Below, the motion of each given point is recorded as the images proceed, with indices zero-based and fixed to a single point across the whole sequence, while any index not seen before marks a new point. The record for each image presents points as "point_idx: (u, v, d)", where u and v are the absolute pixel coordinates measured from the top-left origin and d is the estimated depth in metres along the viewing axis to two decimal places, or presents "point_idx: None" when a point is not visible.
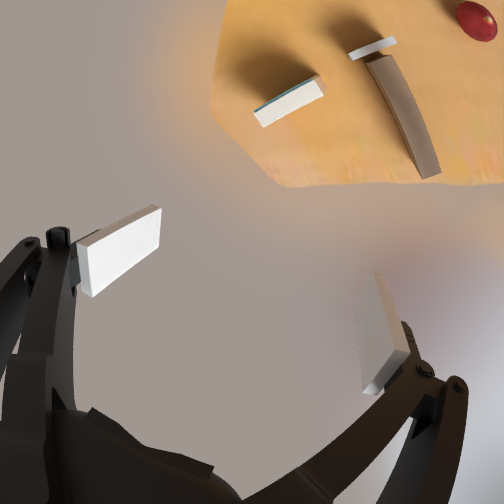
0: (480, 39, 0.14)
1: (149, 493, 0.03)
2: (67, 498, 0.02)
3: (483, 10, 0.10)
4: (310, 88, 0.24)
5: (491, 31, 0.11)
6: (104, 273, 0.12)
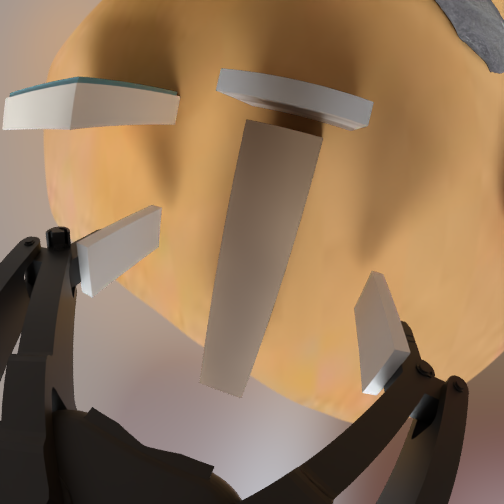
0: None
1: (149, 493, 0.03)
2: (67, 498, 0.02)
3: None
4: (63, 99, 0.08)
5: None
6: (104, 273, 0.12)
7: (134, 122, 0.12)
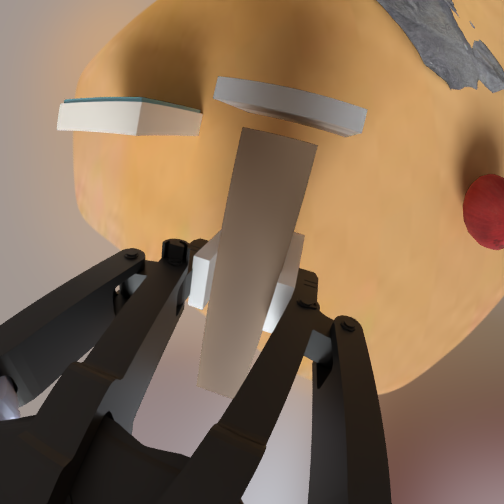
0: (477, 236, 0.15)
1: (149, 493, 0.03)
2: None
3: None
4: (128, 112, 0.13)
5: None
6: None
7: (173, 133, 0.17)
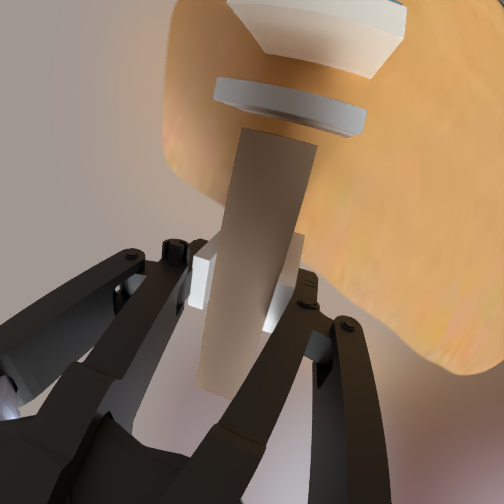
0: None
1: (149, 493, 0.03)
2: None
3: None
4: (388, 10, 0.07)
5: None
6: None
7: (383, 61, 0.11)
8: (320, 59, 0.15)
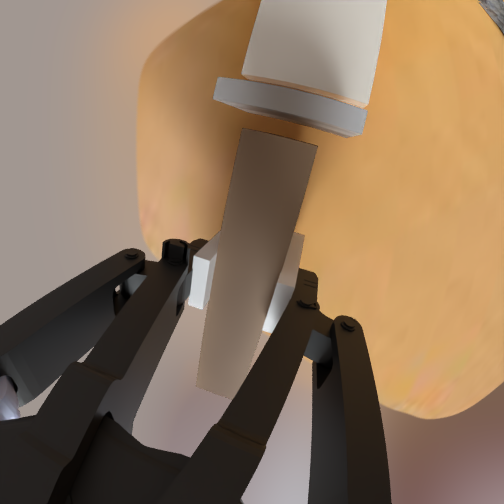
0: None
1: (149, 493, 0.03)
2: None
3: None
4: None
5: None
6: None
7: (379, 45, 0.11)
8: (311, 69, 0.13)
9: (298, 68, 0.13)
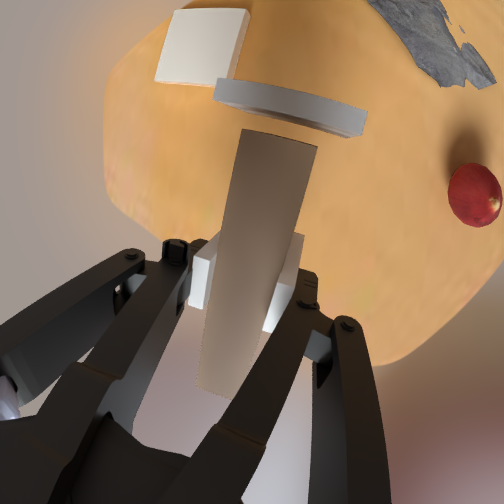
0: (459, 215, 0.18)
1: (149, 493, 0.03)
2: None
3: (497, 190, 0.15)
4: None
5: (483, 217, 0.16)
6: None
7: (235, 45, 0.20)
8: (191, 71, 0.22)
9: (184, 72, 0.22)
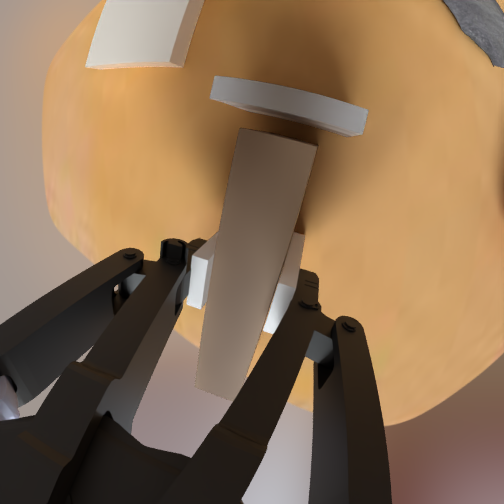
0: None
1: (149, 493, 0.03)
2: None
3: None
4: None
5: None
6: None
7: (189, 3, 0.11)
8: (127, 47, 0.13)
9: (119, 50, 0.13)
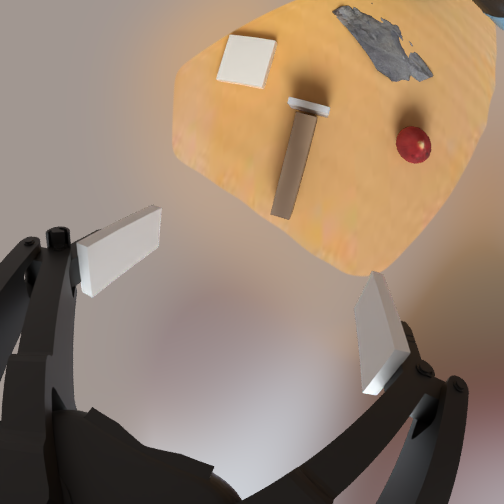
0: (403, 156, 0.34)
1: (149, 493, 0.03)
2: (67, 498, 0.02)
3: (424, 138, 0.30)
4: None
5: (416, 154, 0.32)
6: (104, 273, 0.12)
7: (269, 63, 0.36)
8: (241, 76, 0.37)
9: (236, 76, 0.37)
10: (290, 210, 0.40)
